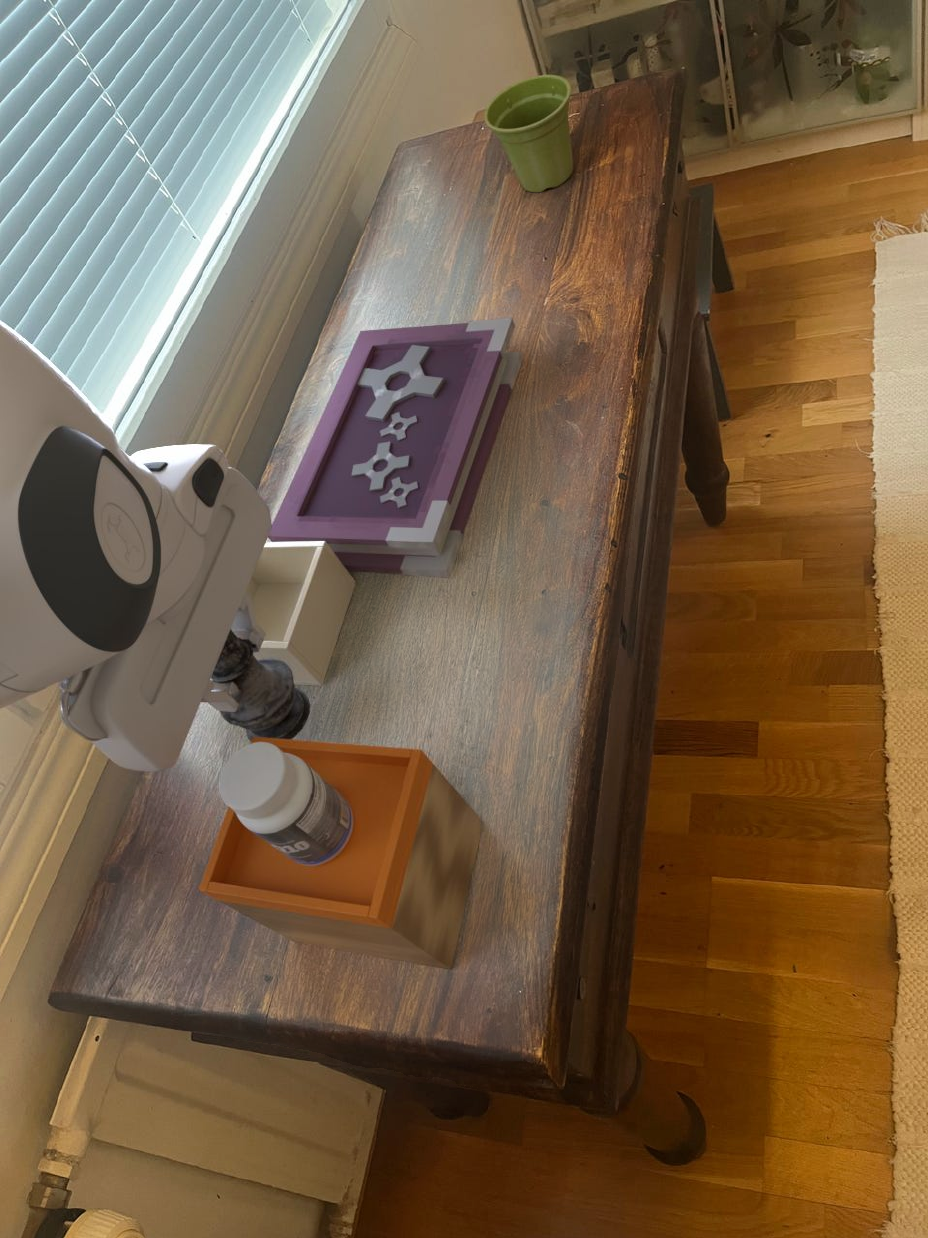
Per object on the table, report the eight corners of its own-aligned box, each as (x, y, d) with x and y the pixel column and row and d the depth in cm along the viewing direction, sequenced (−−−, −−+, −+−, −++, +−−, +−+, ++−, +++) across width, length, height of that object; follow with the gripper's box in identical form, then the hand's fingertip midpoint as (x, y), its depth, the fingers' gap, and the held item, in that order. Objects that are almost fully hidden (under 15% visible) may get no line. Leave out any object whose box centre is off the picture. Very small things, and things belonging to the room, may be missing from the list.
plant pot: (605, 155, 103) (588, 77, 96) (554, 209, 100) (533, 134, 94) (541, 144, 108) (520, 71, 101) (491, 196, 106) (467, 124, 99)
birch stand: (451, 970, 60) (392, 928, 52) (293, 942, 64) (216, 900, 57) (483, 821, 65) (433, 763, 57) (334, 805, 69) (268, 750, 61)
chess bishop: (280, 762, 67) (193, 666, 58) (227, 735, 70) (137, 640, 61) (328, 698, 69) (251, 596, 60) (275, 675, 72) (194, 575, 64)
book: (453, 577, 77) (432, 542, 73) (292, 569, 84) (265, 536, 80) (526, 358, 89) (512, 317, 85) (380, 366, 96) (360, 329, 92)
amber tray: (392, 928, 52) (377, 918, 50) (216, 900, 57) (197, 890, 55) (433, 763, 57) (421, 749, 55) (268, 750, 61) (253, 736, 60)
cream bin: (322, 686, 76) (286, 648, 71) (220, 680, 80) (180, 645, 75) (356, 582, 81) (325, 540, 76) (258, 582, 85) (223, 542, 80)
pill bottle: (272, 856, 56) (196, 804, 50) (305, 785, 58) (236, 726, 52) (336, 877, 54) (265, 826, 47) (368, 803, 56) (304, 744, 49)
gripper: (92, 715, 48) (229, 815, 59) (227, 425, 58) (323, 556, 69) (3, 709, 51) (151, 806, 62) (148, 432, 61) (253, 557, 72)
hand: (243, 672), depth 65 cm, fingers closed on chess bishop, 3 cm apart
